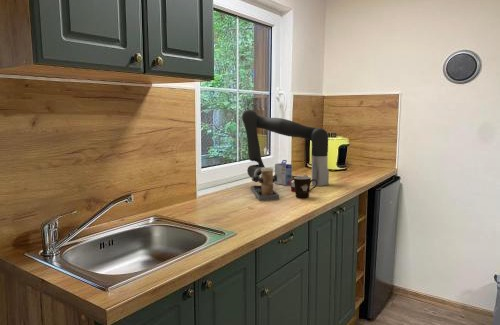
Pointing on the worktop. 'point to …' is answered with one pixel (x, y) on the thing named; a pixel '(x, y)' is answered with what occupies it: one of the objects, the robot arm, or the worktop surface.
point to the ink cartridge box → (283, 173)
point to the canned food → (294, 186)
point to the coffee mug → (303, 186)
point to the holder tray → (257, 193)
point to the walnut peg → (267, 181)
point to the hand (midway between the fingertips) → (268, 180)
